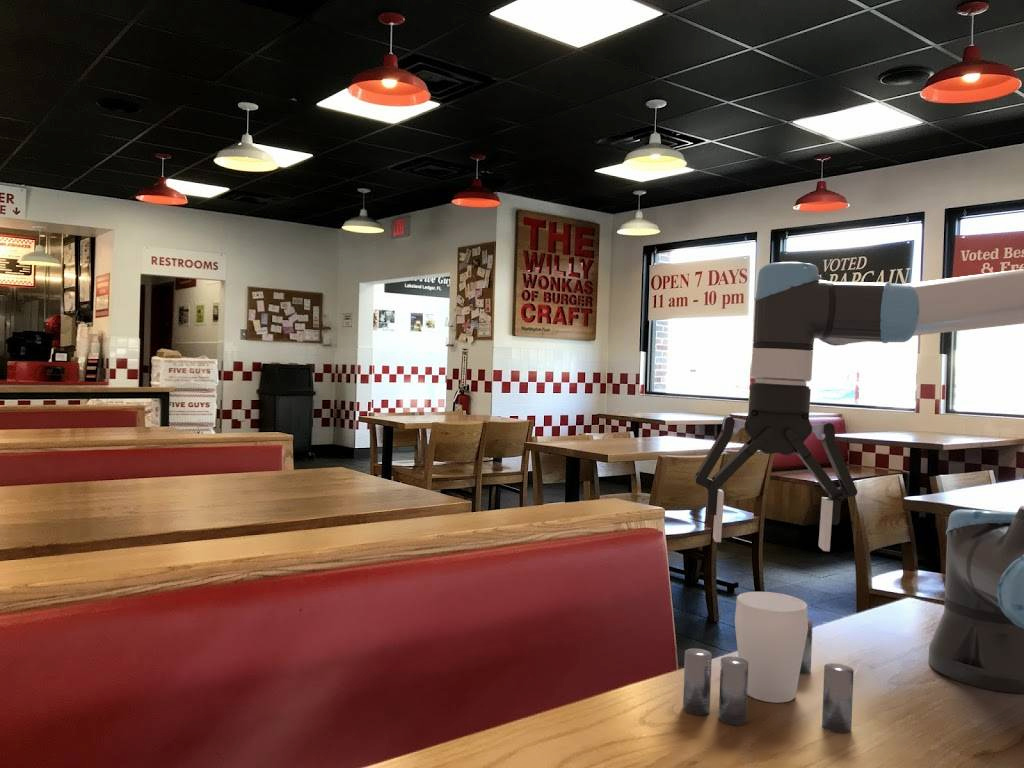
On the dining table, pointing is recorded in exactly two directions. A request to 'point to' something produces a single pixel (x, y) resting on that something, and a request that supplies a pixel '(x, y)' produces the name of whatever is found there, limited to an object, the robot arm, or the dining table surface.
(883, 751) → the dining table surface
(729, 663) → the posts
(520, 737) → the dining table surface
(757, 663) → the cup
